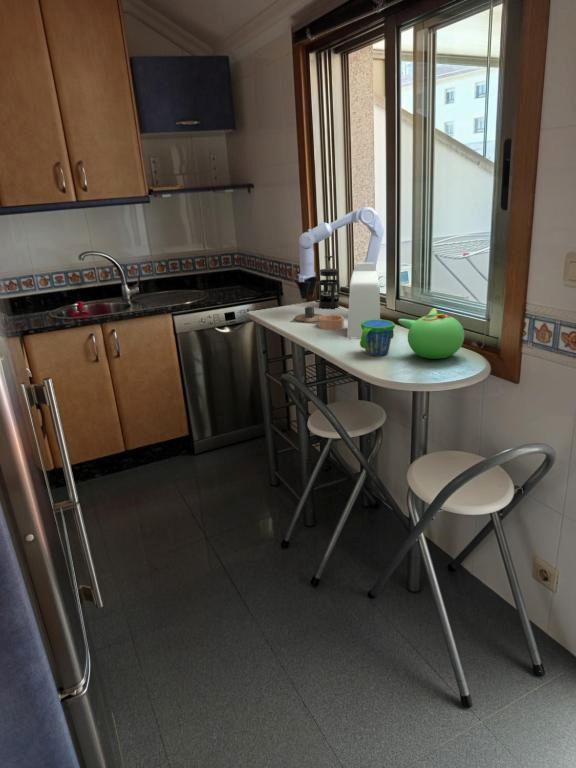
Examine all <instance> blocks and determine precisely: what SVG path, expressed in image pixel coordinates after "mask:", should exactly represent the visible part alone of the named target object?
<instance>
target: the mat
mask: <svg viewBox="0 0 576 768" xmlns="http://www.w3.org/2000/svg"><path fill="white" fill-rule="evenodd" d="M289 323H294V324H295V323H298V324H304V323H303V322H298V321H296V320H295V318H293V319H292V320H289ZM309 324H310V325H311V324H313V325H319V322H315V323H308V325H309Z"/></svg>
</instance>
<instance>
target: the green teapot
mask: <svg viewBox="0 0 576 768" xmlns="http://www.w3.org/2000/svg"><path fill="white" fill-rule="evenodd" d="M397 322H398V323H399V324H400V325H401V326H404V327H405V328H407V329H408V332H407V342H408V345H409V347H410V349H411V350H412V351H413V352H414V353H415V354H416V355H418V356H419V357H422V358H425V359H431V360H438V359H444V358H449V357H451V356H452V355H454V354H455V353H457V352H458V351H459V350H460V349H461V348H462V345H463V343H464V341H465V331H464V326H462V324H461V322H460V321H458V320H457V319H456V318H455V317H453V316H450V315H447V314H444V313H438V311H437V309H436V308H435V307H434V308H432V309H431V310H430V311H429V313H428V314H427V315H423V316H421V317H419V318H418V319H407V318H399V319H397Z"/></svg>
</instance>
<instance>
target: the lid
mask: <svg viewBox="0 0 576 768" xmlns="http://www.w3.org/2000/svg"><path fill="white" fill-rule="evenodd" d="M320 316H324V314H323V315H322V314H320V313H319V314H318V313H315V306H306V307H305V308H304V313H302V314H298V315H295V316H294V319H295V320H296V321H298V322H303V323H302V324H309V323H315V322H319V317H320Z"/></svg>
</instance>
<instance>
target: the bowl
mask: <svg viewBox="0 0 576 768" xmlns="http://www.w3.org/2000/svg"><path fill="white" fill-rule="evenodd" d="M344 327H345V317H344V316H343V315H338V314H325V315H324V314H323V316H320V317H319V324H318V328H319V329H321V330H327V331H328V330H329V331H333V330H334V331H335V330H336V331H337V330H340V329H343V328H344Z"/></svg>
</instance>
